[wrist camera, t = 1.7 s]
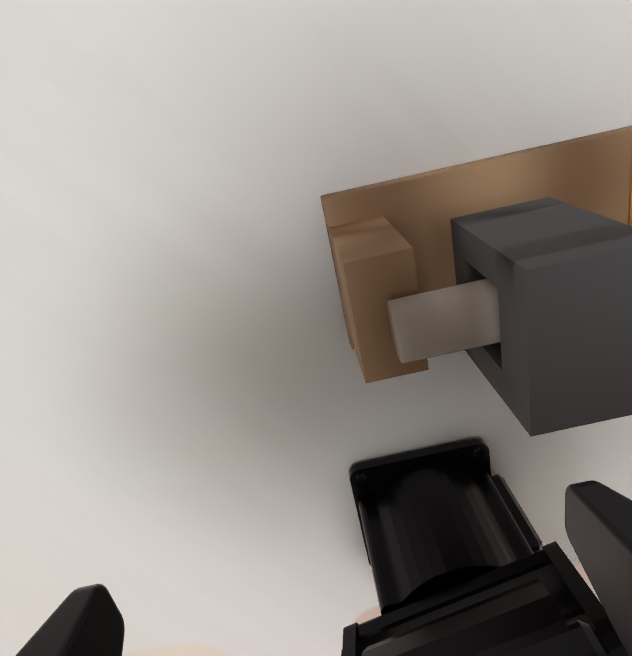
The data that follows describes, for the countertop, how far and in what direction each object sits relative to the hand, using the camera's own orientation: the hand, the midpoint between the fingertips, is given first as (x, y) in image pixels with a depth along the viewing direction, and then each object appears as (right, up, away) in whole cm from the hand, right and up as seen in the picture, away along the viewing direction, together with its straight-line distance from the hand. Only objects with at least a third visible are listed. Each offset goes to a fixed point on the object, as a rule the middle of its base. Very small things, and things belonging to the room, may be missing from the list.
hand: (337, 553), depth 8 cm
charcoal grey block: (+6, +5, +8) cm, 11 cm away
